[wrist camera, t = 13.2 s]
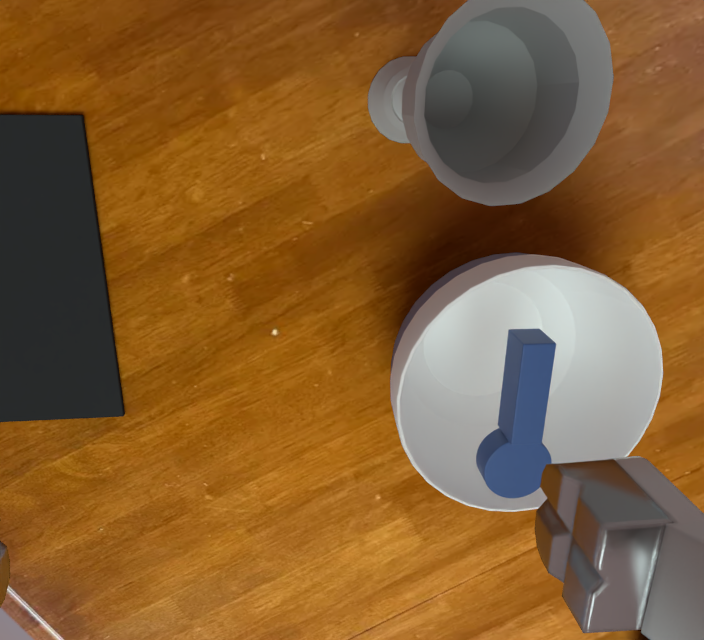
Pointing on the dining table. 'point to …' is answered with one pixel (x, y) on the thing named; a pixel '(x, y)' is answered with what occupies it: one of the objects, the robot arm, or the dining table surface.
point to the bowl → (489, 359)
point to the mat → (52, 277)
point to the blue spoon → (520, 417)
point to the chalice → (501, 97)
